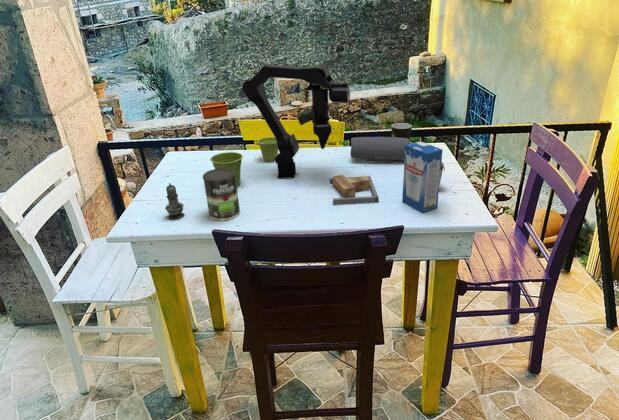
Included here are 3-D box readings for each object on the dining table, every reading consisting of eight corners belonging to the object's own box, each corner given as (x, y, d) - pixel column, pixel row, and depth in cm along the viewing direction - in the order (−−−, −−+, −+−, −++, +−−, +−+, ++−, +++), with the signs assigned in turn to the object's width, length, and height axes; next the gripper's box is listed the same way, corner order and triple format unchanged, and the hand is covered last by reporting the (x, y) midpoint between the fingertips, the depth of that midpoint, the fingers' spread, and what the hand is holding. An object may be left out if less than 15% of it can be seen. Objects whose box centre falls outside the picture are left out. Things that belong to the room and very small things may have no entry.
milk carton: (402, 202, 151) (405, 144, 142) (416, 197, 154) (420, 141, 145) (422, 213, 143) (427, 153, 134) (437, 208, 146) (442, 149, 137)
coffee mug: (410, 151, 193) (411, 128, 189) (390, 151, 195) (390, 128, 191) (410, 142, 203) (412, 121, 199) (391, 142, 205) (392, 120, 201)
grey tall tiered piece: (169, 212, 152) (162, 180, 147) (186, 211, 152) (180, 178, 147) (165, 221, 147) (158, 187, 141) (184, 219, 147) (177, 185, 142)
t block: (344, 199, 155) (344, 189, 153) (332, 186, 165) (332, 176, 163) (374, 194, 157) (374, 183, 156) (361, 181, 168) (361, 171, 166)
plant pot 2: (257, 157, 195) (255, 138, 191) (278, 154, 198) (277, 135, 194) (261, 165, 187) (259, 145, 183) (283, 161, 190) (282, 141, 186)
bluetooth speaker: (407, 157, 188) (408, 133, 183) (407, 165, 180) (409, 141, 175) (352, 156, 192) (352, 133, 187) (350, 164, 184) (350, 140, 179)
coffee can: (244, 216, 147) (239, 176, 141) (213, 223, 144) (206, 183, 137) (235, 204, 156) (230, 165, 149) (206, 210, 152) (199, 171, 146)
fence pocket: (333, 204, 152) (333, 200, 151) (329, 182, 168) (329, 178, 167) (378, 202, 152) (378, 197, 151) (370, 180, 168) (370, 176, 167)
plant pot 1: (252, 184, 170) (249, 155, 165) (227, 194, 163) (223, 165, 158) (232, 176, 178) (229, 149, 172) (208, 186, 170) (203, 158, 165)
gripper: (297, 97, 168) (299, 137, 175) (297, 110, 152) (300, 154, 159) (327, 95, 168) (328, 136, 176) (331, 108, 152) (332, 152, 159)
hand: (321, 144), depth 167 cm, fingers open, 9 cm apart
